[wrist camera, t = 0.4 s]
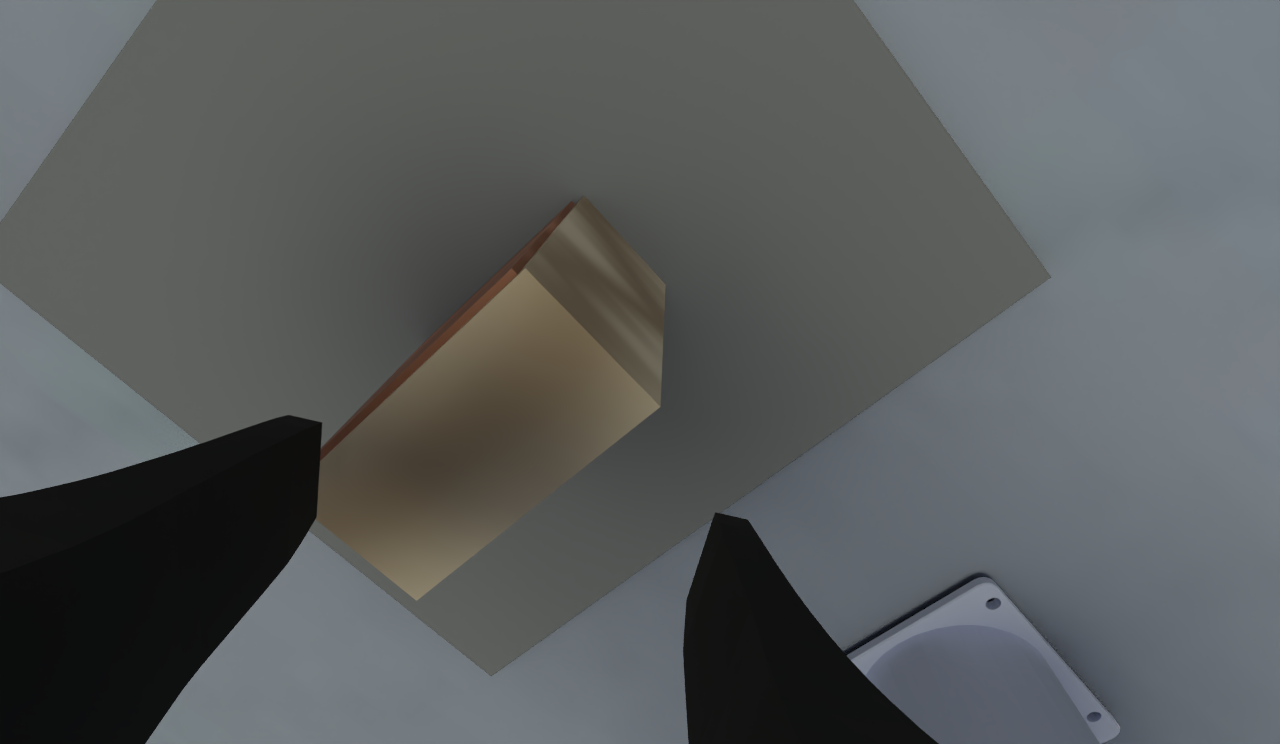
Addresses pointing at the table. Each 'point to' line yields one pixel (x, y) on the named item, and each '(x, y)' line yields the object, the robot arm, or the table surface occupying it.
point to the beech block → (499, 403)
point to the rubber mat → (516, 238)
